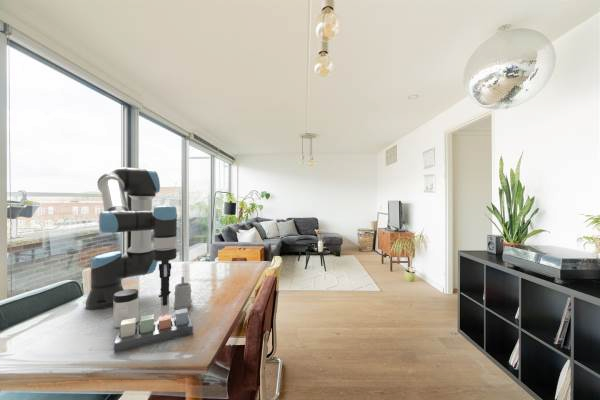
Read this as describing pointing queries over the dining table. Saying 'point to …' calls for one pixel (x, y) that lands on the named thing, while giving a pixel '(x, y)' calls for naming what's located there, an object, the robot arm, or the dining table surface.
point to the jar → (125, 306)
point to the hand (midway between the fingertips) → (164, 312)
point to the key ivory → (128, 327)
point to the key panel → (152, 335)
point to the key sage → (147, 323)
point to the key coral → (164, 322)
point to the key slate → (181, 316)
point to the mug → (182, 295)
